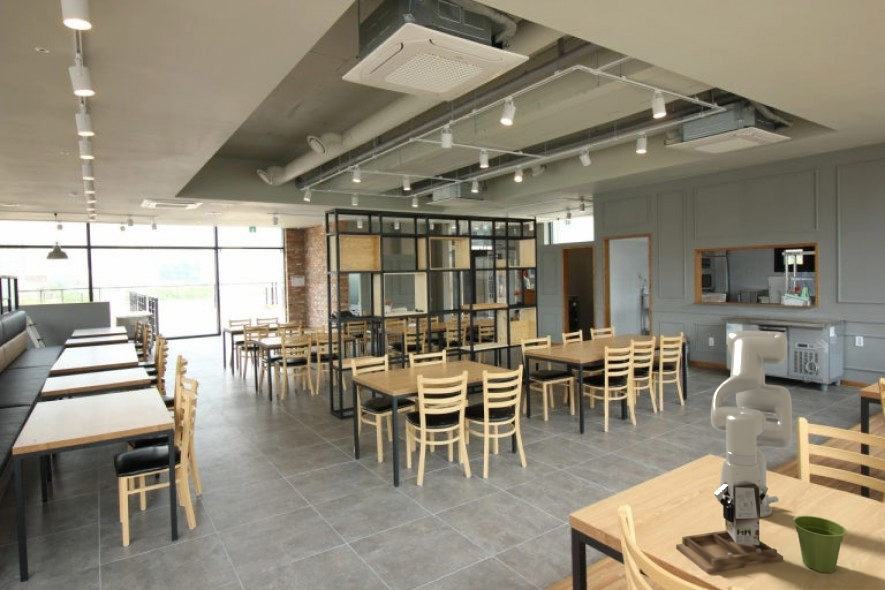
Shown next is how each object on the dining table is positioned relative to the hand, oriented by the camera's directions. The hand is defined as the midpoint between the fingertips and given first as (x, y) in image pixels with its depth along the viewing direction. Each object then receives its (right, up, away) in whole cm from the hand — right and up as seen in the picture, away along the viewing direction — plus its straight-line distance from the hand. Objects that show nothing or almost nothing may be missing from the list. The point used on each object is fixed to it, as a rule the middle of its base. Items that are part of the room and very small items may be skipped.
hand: (741, 518), depth 150 cm
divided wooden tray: (-4, -10, 0) cm, 11 cm away
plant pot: (+17, -10, -7) cm, 21 cm away
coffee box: (0, -6, 0) cm, 6 cm away
